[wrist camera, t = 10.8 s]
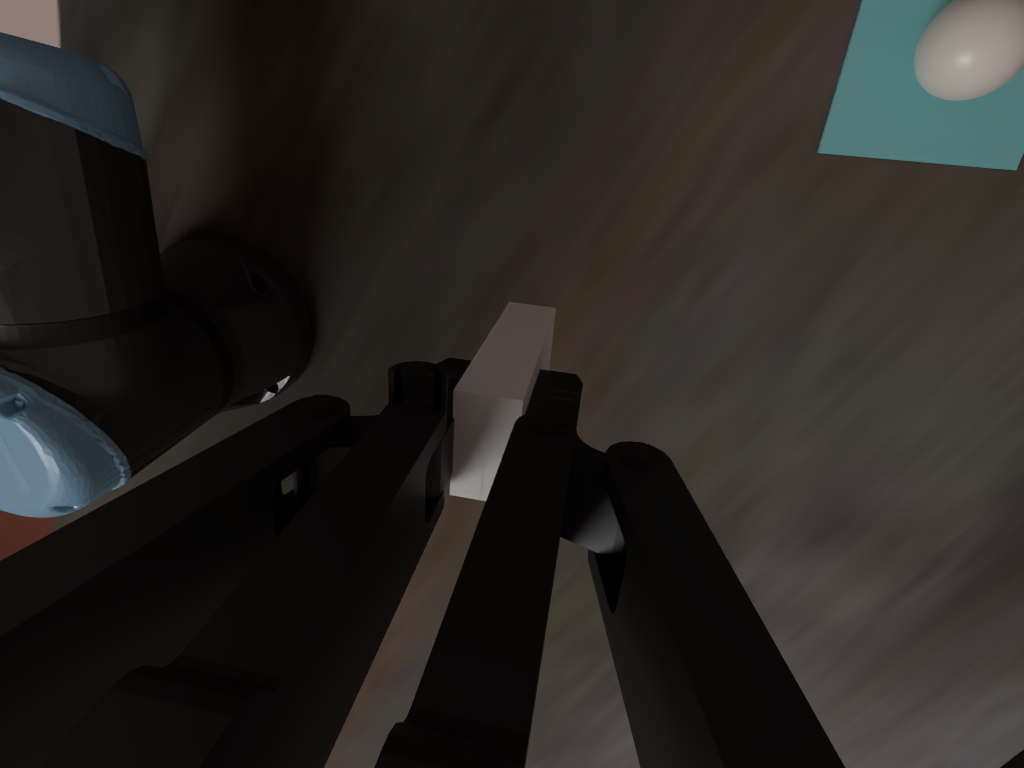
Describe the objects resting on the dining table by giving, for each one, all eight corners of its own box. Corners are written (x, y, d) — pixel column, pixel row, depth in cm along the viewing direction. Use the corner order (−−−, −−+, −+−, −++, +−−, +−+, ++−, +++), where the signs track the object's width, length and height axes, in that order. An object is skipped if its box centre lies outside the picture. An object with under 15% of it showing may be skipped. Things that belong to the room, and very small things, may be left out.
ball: (896, 101, 36) (900, 94, 31) (931, -2, 33) (941, -25, 29) (1002, 106, 33) (1022, 100, 29) (1047, -3, 31) (1077, -28, 27)
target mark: (817, 152, 37) (818, 152, 37) (883, -74, 32) (884, -75, 32) (1014, 170, 35) (1016, 170, 35) (1117, -64, 30) (1120, -66, 30)
